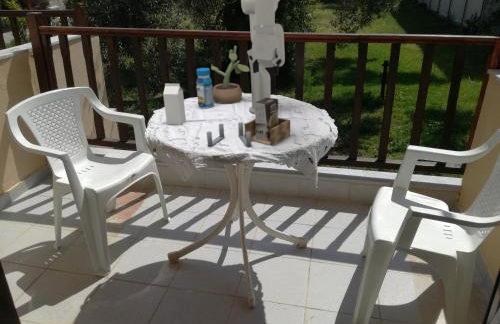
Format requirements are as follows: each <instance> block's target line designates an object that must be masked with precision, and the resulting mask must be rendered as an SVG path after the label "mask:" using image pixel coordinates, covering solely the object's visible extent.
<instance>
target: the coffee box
mask: <svg viewBox="0 0 500 324" xmlns="http://www.w3.org/2000/svg"><path fill="white" fill-rule="evenodd" d="M278 118H279V99H278V98H275V97H274V98H273V97H271V98H264V99H262V100H260V101H257V102H255V113H254V119H255V123H256V139H260V140H265V141H269V140H270V129H272V128H274V127H276V126H277V125H278Z"/></svg>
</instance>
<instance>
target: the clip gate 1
mask: <svg viewBox="0 0 500 324" xmlns="http://www.w3.org/2000/svg"><path fill="white" fill-rule="evenodd" d="M224 126H225V125H224V123H219V124H218V134H219V135H218V136H217V137H215V138H214V139H213V135H212V134H213V133H212V132H213V131H207V132H206V140H207V141H206V143H207V147H210V148H211V147H214V146H215V145H216V144H219V142H220V141H222V140H224V139H225V130H224V129H225V128H224Z"/></svg>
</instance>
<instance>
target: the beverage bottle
mask: <svg viewBox="0 0 500 324" xmlns="http://www.w3.org/2000/svg"><path fill="white" fill-rule="evenodd" d="M210 69H211V68H209V67H200V68H199V67H198V68H197V69H196V75H197V78H196V82H195V84H196V94H197V95H196V96H197V103H198V105H197V106H198V107H199V108H201V109H210V108H213V107H214V105H215V104H214V100H213V88H214V86H213V84H212V82H213V80H212V78H211V76H210V75H211V70H210Z"/></svg>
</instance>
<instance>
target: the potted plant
mask: <svg viewBox="0 0 500 324" xmlns="http://www.w3.org/2000/svg"><path fill="white" fill-rule="evenodd" d="M237 48H238V47H237V46H236V45H234V46H233V49H230V50H229V51H228V53H229V54H228V59H230V63H229V64H228V66H227V69H226V70H225V72H223V71H221V70H220V69H219V68H218V67H216V66H214V65H213V63H210V69H211V70H212V71H214V72H216V73H217V74H219V75H221V76H222V77H223V81H222V83H219V84H216V85H214V86H213V88H212V90H213V102H216V103H218V104H234V103H237V102H239V101H240V100H241V99H242V97H243V91H242V88H241V87H240V85H239V84H236V83H231V82H230V76H231V74H232V73H231V72H232V71H233V70H235V74H237V75H238V74H241V73H242V72H251V69H250V66H247V65H246V64H242V63H241V64H240V60H237V59H238V55H237Z"/></svg>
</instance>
